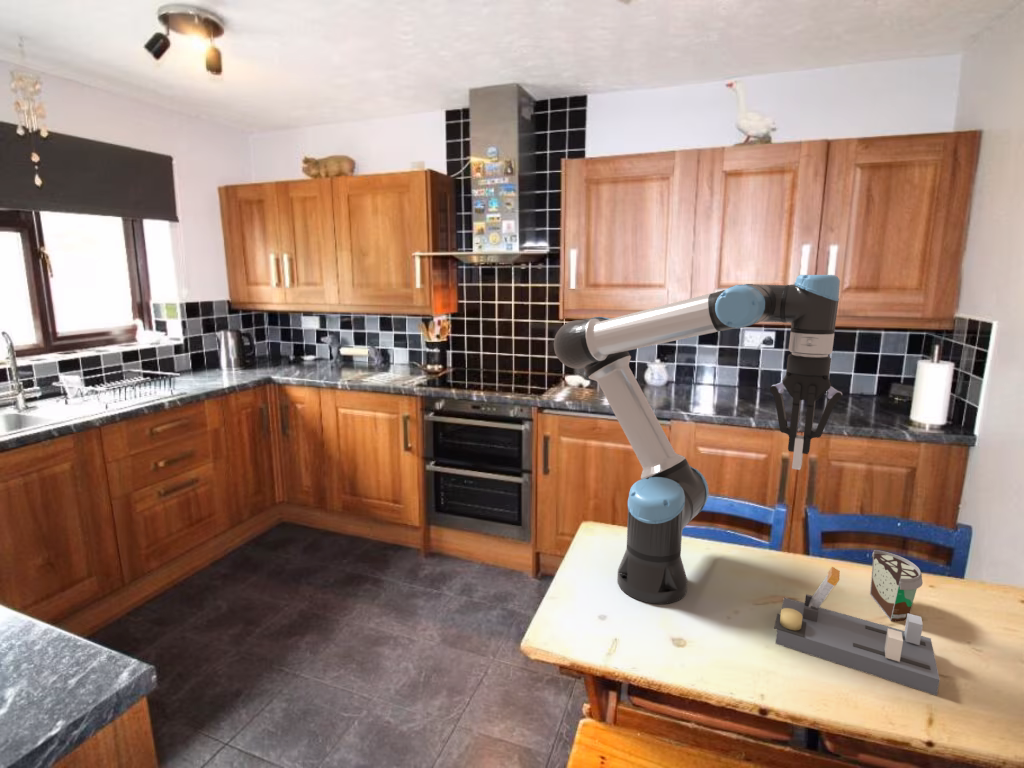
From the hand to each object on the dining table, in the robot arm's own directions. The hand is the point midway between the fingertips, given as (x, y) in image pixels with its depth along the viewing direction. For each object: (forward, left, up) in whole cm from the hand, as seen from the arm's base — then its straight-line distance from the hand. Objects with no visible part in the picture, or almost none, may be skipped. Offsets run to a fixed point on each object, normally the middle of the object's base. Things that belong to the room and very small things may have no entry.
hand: (796, 467), depth 109 cm
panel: (+13, -12, -29) cm, 34 cm away
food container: (+21, +7, -29) cm, 37 cm away
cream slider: (+18, -16, -26) cm, 36 cm away
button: (+3, -16, -26) cm, 31 cm away
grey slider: (+22, -9, -26) cm, 35 cm away
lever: (+6, -9, -25) cm, 27 cm away
